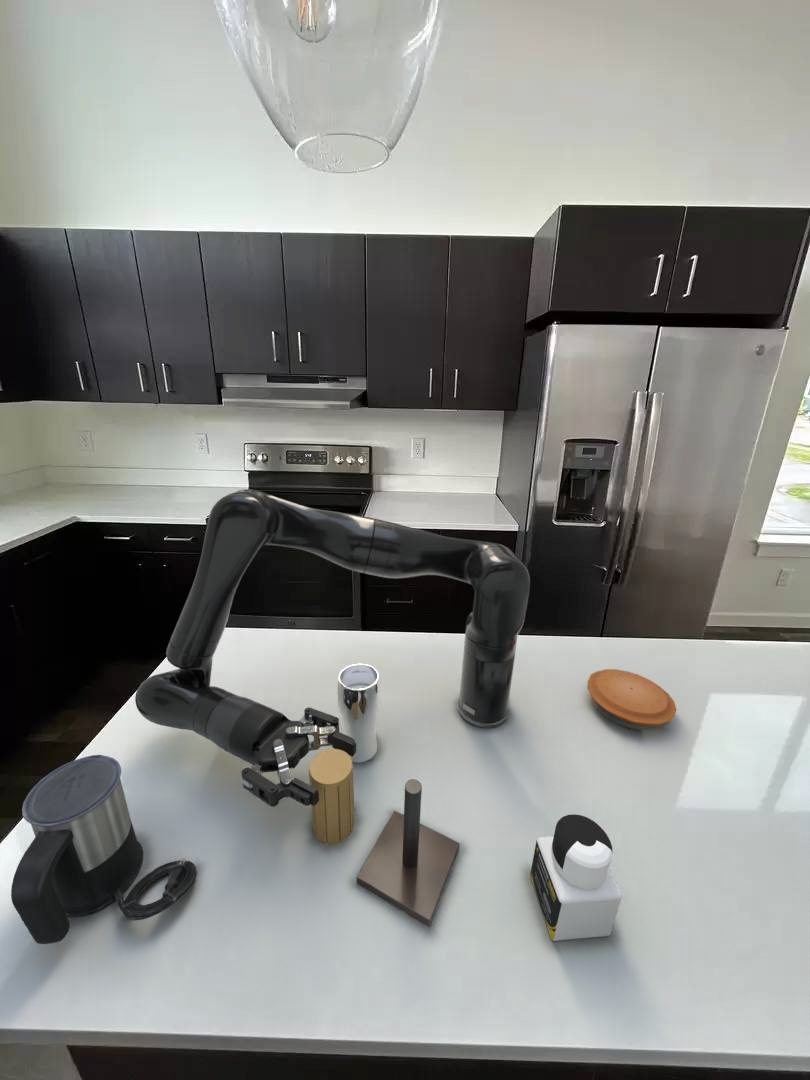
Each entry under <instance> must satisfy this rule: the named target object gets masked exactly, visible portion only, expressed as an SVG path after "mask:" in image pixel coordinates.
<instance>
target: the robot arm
mask: <svg viewBox="0 0 810 1080" xmlns="http://www.w3.org/2000/svg"><path fill="white" fill-rule="evenodd" d="M265 545H266V546H275V547H276V546H277V547H284V548H291V549H297V550H301V551H304V552H307V553H310V554H313V555H314V556H318V557H320V558H322V559H324V560H326V561H328V562H329V563H332V564H334V565H336V566H338V567H341V568H344V569H346V570H348V571H352V572H356V573H360V574H365V575H369V576H374V577H379V578H384V579H385V578H386V579H395V580H396V579H410V578H416V577H417V578H418V577H424V576H438V577H445V578H448V579H453V580H457V581H460V582H464V583H466V584H469V585H471V586H472V588H473V590H474V592H473V603H472V611H471V612H470V613H469V614H468V615H467V617H466V620H465V631H464V643H463V653H462V654H463V655H462V665H461V677H460V689H459V699H458V706H457V709H458V713H459V715H460V717H461V718H463V720H465V721H466V722H467V723H469V724H470V725H473V726H475V727H479V728H485V729H491V728H497V727H499V726H501V725H503V724H504V723H505V722H506V720H507V718H508V713H509V702H510V696H511V695H510V694H511V687H512V680H513V672H514V666H515V659H516V652H517V651H516V650H517V643H518V637H519V632H520V631H521V630H522V628H523V626H524V623H525V619H526V614H527V609H528V603H529V597H530V591H531V590H530V589H531V577H530V573H529V570H528V568H527V567H526V565H525V564H524V563H523V562H522V560H521V559H520V558H519V557H518V556H517V555H516V554H515V553H514V552H513V550H512V549H510V548H509V547H507V546H505V545H503V544H500V543H496V542H491V541H483V540H474V539H473V540H472V539H465V538H456V537H450V536H445V535H440V534H439V533H438V534H437V533H434V532H431V531H427V530H424V529H420V528H415V527H411V526H406V525H403V524H400V523H395V522H392V521H388V520H383V519H378V518H373V517H369V516H363V515H358V514H353V513H346V512H340V511H335V510H334V511H333V510H326V509H324V510H323V509H318V508H314V507H310V506H306V505H303V504H300V503H296V502H293V501H290V500H287V499H284V498H281V497H277V496H274V495H272V494H269V493H267V492H264V491H260V490H257V489H250V488H246V489H239V490H236V491H234V492H231V493H228V494H226V495H225V496H223V497H221V498H220V499H219V500H217V501H216V502H215V503H214V505H213V506H212V508H211V510H210V512H209V516H208V520H207V525H206V529H205V535H204V540H203V545H202V550H201V555H200V559H199V562H198V567H197V570H196V574H195V577H194V579H193V582H192V586H191V588H190V591H189V593H188V596H187V598H186V599H185V603H184V605H183V607H182V610H181V612H180V615H179V617H178V620H177V621H176V624H175V626H174V629H173V632H172V633H171V636H170V639H169V641H168V644H167V647H166V651H165V655H166V656H165V657H166V659H167V661H168V663H169V664H171V665H172V666H173V667H176V668H177V669H174V670H169V671H166V672H162V673H158V674H153V675H152V676H149V677H148V678H146V679H145V680H143V681H142V682H141V683H140V685H139V686H138V687H137V690H136V692H135V697H134V700H135V707H136V709H137V710H138V712H139V713H140V715H141V716H142V717H143V718H144V719H146V720H147V721H149V722H150V723H153V724H155V725H158V726H163V727H167V728H172V729H178V730H183V731H184V730H186V731H192V732H194V733H195V734H197V735H199V736H201V737H203V738H204V739H207V740H209V741H210V742H212V743H213V744H214V745H215V746H217V747H218V748H220V749H221V750H223V751H224V752H227V753H229V754H231V755H233V756H235V757H236V758H238V759H240V760H242V761H243V762H245V763H248V764H249V765H251V766H252V767H250V766H249V767H248V766H247V767H243V768H242V770H241V772H240V773H241V782H242V787H243V789H244V790H246V791H247V792H248V793H250V794H252V795H253V796H255V797H256V798H258V799H259V800H260V801H262V802H263V803H265V804H266V805H267V806H269V807H271V808H275V807H277V806H278V805H279V804H280V802H281V801H282V800H283V799H285V798H290V799H292V800H294V801H296V802H298V803H300V804H302V805H303V806H305V807H306V806H307V807H310V806H311V805H313V806H315V805H316V804H317V803H318V801H319V792H318V790H317V789H316V788H314V787H312V786H310V784H308V783H306V782H305V781H303V780H301V779H299V778H298V777H294V778H293V779H292V775H291V769H295V768H296V767H297V766H298V765H299V763H300V761H301V760H302V759H304V758H305V757H306V756H307V755H308V753H310V752H311V751H318V750H319V749H320V748H321V747H322V748H323V747H331V749H339V750H342V751H344V752H346V753H347V754H348V755H350V756H354V754H355V753H356V743H355V740H354V739H353V738H351V737H349V736H346V735H345V734H344V733H343V732H340V719H339V718H340V717H337V716H335V715H332V714H329V713H326V712H323V711H320V710H318V709H315V708H312V707H306V708H305V709H304V710H303V712H304V715H303V716H302V717H301V718H300V719H299V720H291V719H289V718H288V717H287V716H286V715H285V714H284V713H282V712H280V711H278V710H275V709H273V708H272V707H269V706H267V705H265V704H262V703H260V702H258V701H256V700H253V699H251V698H248V697H245V696H240V695H237V694H236V693H233V692H231V691H229V690H227V689H224V688H222V687H218V686H214V685H211V681H212V679H211V678H212V670H213V660H214V659H213V658H214V655H215V653H216V650H217V648H218V646H219V643H220V641H221V639H222V636H223V634H224V632H225V629H226V626H227V624H228V620H229V617H230V613H231V610H232V605H233V601H234V598H235V594H236V592H237V589H238V587H239V585H240V583H241V580H242V578H243V576H244V574H245V573H246V571H247V569H248V567H249V566H250V565H251V563H252V561H253V559H254V558H255V557H256V555H257V554H258V552H259V551H260V549H262V547H264V546H265ZM309 736H312V737H313V740H310V739H309V738H310V737H309ZM271 772H277V777H278V783H274V782H273V781H271V780H270V779H269V778H267V777H265V776H263V773H271Z"/></svg>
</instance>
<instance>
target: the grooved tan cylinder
mask: <svg viewBox="0 0 810 1080" xmlns="http://www.w3.org/2000/svg"><path fill="white" fill-rule="evenodd" d="M308 772H309V773H308V775H309V785H310V786H312V787H314V788H316V789H317V790H318V792H319V801H318V803H317V804H316V805H315V806H313V805H311V804H310V806H311V820H312V830H313V834H314V837H315V838H316V839H317V840H318V841H320V842H322V843H323V844H325V845H334V844H340V842H341V843H342V842H344V841H345V840H346V839H347V838H348V837H349V836H350V835H351V833H352V832H353V828H354V824H355V796H354V795H355V794H354V793H355V789H354V788H355V787H354V765H353V762H352V760H351V758H350V756H349V755H348V754H347V753H346V752H344V751H342V750H339V749H334V748H329V749H328V748H327V749H325V750H322V751H321V752H319V753H318V754H316V755H315V756H314V757H313V758H312V760H311V762H310V764H309V770H308Z"/></svg>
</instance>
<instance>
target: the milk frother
mask: <svg viewBox="0 0 810 1080" xmlns="http://www.w3.org/2000/svg"><path fill="white" fill-rule="evenodd" d="M121 775H122V767H121V764H120V763H119V761H118V759H115V758H114V757H111V756H109V755H103V754H92V755H88V756H85V757H84V756H83V757H80V758H78V759H74V760H71V761H68V762H67V763H65V764H63V765H61V766H60V767H59V766H58V767H57V768H55V769H54V770H53V771H51V772H49V773H48V774H46V775H45V776H44V777H43V778H41V779H40V780H39V781H38V782H37V783H36V784H35V785H34V786H33V787H32V788H31V789H30V791H29V792H28V794H27V795H26V797H25V799H24V801H23V803H22V807H21V812H22V813H21V814H22V817H23V819H24V820H25V821H26V823H28V824H30V825H31V828H32V832H33V834H34V839H33V840H32V841H31V843H30V845H28V847H27V849H26V850H25V852H24V854H23V855H22V857H21V859H19V860H20V861H19V862H18V864H17V867H16V870H15V872H14V874H13V875H14V876H13V878H12V883H11V889H10V890H11V891H10V897H11V903H12V905H13V907H14V909H15V911H16V912H17V914H18V916H19V917H20V919H21V921H22V922H23V924H24V926H25V927H26V929H27V931H28V932H29V934H30V935H31V937H32V939H33V940H34V942H35V943H36V944H38V945H49V944H56V943H59V942H62V941H63V940H64V939H65V938H66V937H67V935H68V933H69V931H70V928H71V924H70V923H71V922H70V920H69V918H68V916H84V915H85V916H86V915H88V914H91V913H94V912H97V911H99V910H102V909H104V908H105V907H107V906H108V905H110V904H111V903H112V902H114V901H115V900H116V903H117V906H118V908H119V910H120V912H121V913H122V915H123V916H124V918H126V920H127V919H128V920H130V921H142V920H145V919H150V918H152V917H154V916H156V915H158V914H160V913H162V912H164V911H166V910H168V909H169V908H170V907H172V906H173V905H174V904H176V903H177V902H179V901H180V900H181V899H182V898H183V897H184V896H185V895H186V894H187V893H188V892H189V891H190V890H191V889H192V888H193V886H194V884H195V882H196V879H197V876H198V870H197V866H196V864H195V863H193V862H192V861H190V860H186V859H185V857H184V858H183V857H182V858H181V859H179V860H174V861H169V862H167V863H164V864H162V865H159V866H158V867H156V868H154V869H153V870H152V871H150V872H149V873H147V874H146V875H145V876H143V877H141V879H140V880H139V881H138V882H137V883H136V884H134V886H133V887H132V888H131V889H130V891H129V892H128V894H127V896H126V897H125V899H124V896H123V893H124V892H125V891H126V890H127V889H128V888H129V887H130V886H131V884H132V883H133V882H134V881H135V878H137V875H138V874H139V872H140V870H141V867H142V864H143V861H144V850H143V846H142V843H141V842H140V841H138V838H137V835H136V832H135V829H134V825H133V821H132V818H131V814H130V810H129V807H128V801H127V798H126V795H125V791H124V787H123V783H122V780H121ZM167 874H169V875H168V878H167V882H166V884H165V886H164V891H163V892H162V897H161V898H159V899H157V900H155V901H153V902H150V903H147V904H141V903H139V902H137V900H138V897H140V895H141V893H142V892H143V891H144V890H145V889H147V887H148V886H149V885H151V883H153V882H154V881H156V880H157V879H159V878H161V877H162V876H164V875H167Z"/></svg>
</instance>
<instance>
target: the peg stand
mask: <svg viewBox="0 0 810 1080" xmlns="http://www.w3.org/2000/svg"><path fill="white" fill-rule="evenodd" d="M422 789H423V786H422V783H421V782H420V781H419V780H418V779H415V778H411V779H409V780H407V781H406V782H405V784H404V800H403V801H404V805H403V814H402V813H400V812H398V811H396V810H393V812H392V814H391V816H390V818H389V819H388V821H387V823H386V824H385V826H384V828H383V830H382V831H381V833H380V835H379V836H378V838H377V840H376V842H375V844H374V845H373V847H372V849H371V851H370V853H369V854H368V856H367V858H366V860H365V862H364V863H363V865H362V866H361V869H360V870H359V872H358V874H357V875H356V884H357V885H359V886H360V887H362V888H364V889H365V890H367V891H368V892H370V893H372V894H374V895H375V896H377V897H379V898H380V899H382V900H384V901H385V902H387V903H389V904H390V905H392V906H394V907H395V908H397V909H398V910H400V911H402V912H403V913H405V914H407V915H409V916H410V917H412V918H413V919H415V920H416V921H418V922H420V923H422V924H423V925H425V926H426V927H428V928H430V927H431V924H432V922H433V919H434V917H435V914H436V911H437V910H438V907H439V903H440V900H441V898H442V896H443V894H444V890H445V888H446V885H447V883H448V880H449V877H450V874H451V872H452V869H453V867H454V865H455V861H456V859H457V856H458V854H459V851H460V843H459V842H458V841H456V840H454V839H452V838H450V837H448V836H446V835H444V834H442V833H440V832H439V831H436V830H435V829H432V828H430V827H428V826H426V825H424V824H422V823H421V808H422V807H421V806H422Z"/></svg>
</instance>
